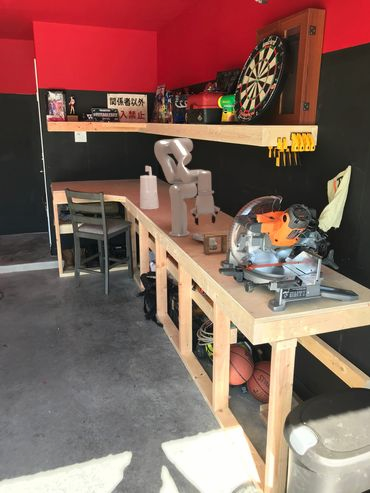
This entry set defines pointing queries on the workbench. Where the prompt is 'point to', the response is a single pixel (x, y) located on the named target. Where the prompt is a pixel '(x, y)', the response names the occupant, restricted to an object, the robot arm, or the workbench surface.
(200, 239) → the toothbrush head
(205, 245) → the walnut sleeve
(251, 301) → the workbench surface
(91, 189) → the workbench surface
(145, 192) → the white pump bottle
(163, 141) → the robot arm
